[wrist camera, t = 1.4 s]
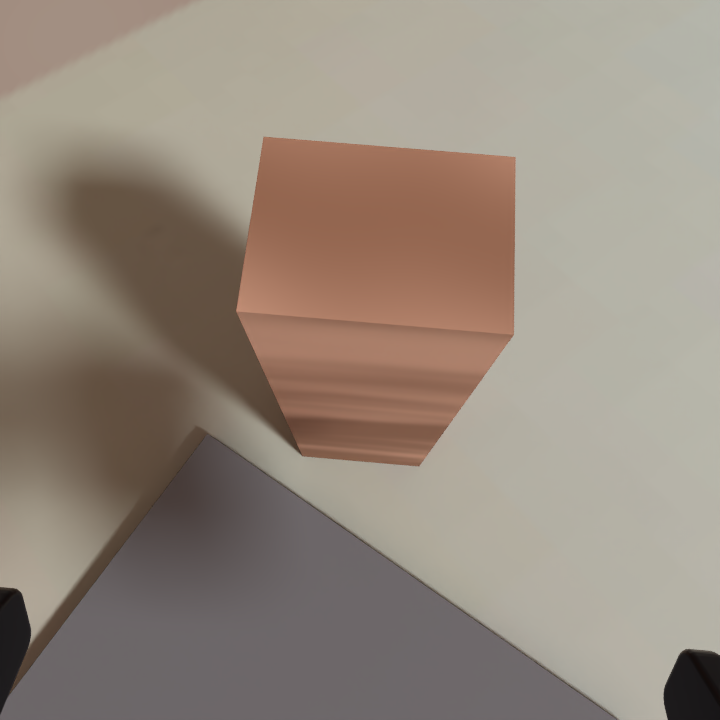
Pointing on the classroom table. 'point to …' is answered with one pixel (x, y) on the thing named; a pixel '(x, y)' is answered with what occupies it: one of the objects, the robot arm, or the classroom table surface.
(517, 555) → the classroom table surface
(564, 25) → the classroom table surface
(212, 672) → the charcoal mat
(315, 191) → the terracotta block
